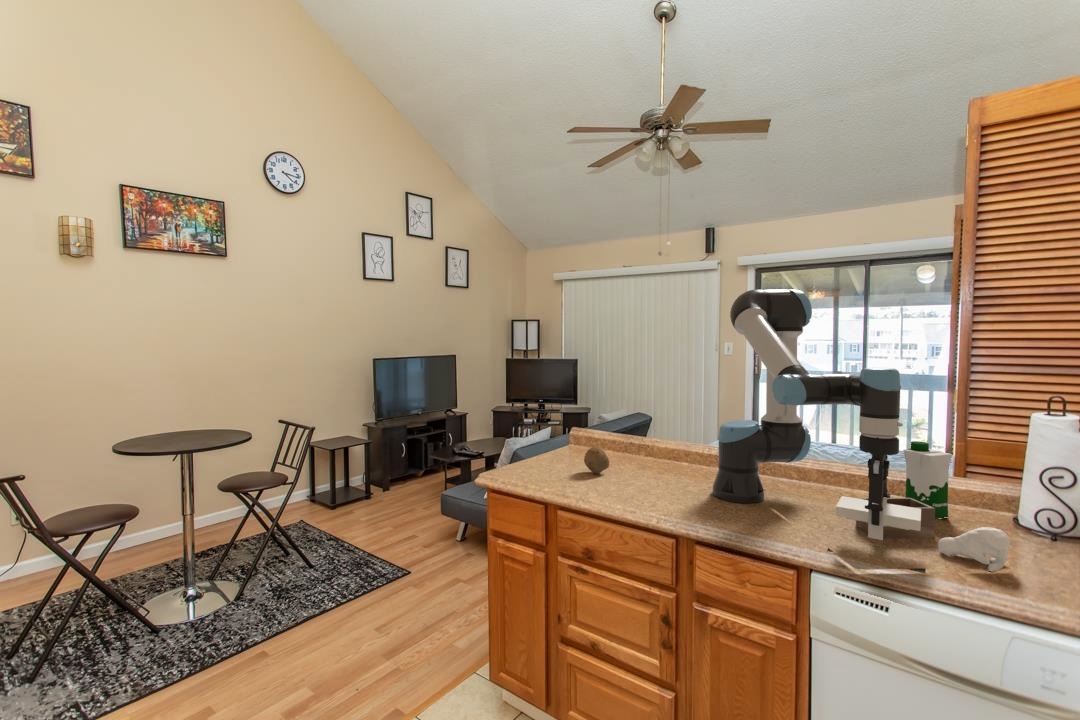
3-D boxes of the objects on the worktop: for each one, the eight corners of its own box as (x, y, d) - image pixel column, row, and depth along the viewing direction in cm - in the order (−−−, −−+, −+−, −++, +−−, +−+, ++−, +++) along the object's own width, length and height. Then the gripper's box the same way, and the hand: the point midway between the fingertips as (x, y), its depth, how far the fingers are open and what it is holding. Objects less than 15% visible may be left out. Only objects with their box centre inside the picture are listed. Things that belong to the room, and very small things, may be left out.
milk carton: (921, 508, 142) (923, 440, 142) (955, 519, 134) (957, 446, 133) (897, 511, 140) (899, 442, 139) (930, 523, 131) (932, 448, 130)
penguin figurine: (1008, 535, 101) (934, 525, 110) (1013, 576, 101) (938, 564, 109) (1008, 526, 106) (937, 518, 114) (1012, 566, 106) (941, 555, 114)
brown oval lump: (579, 471, 185) (579, 445, 184) (599, 468, 189) (599, 443, 188) (591, 477, 177) (591, 450, 176) (612, 474, 180) (612, 447, 180)
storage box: (855, 528, 128) (856, 498, 128) (910, 528, 128) (910, 497, 128) (876, 540, 120) (877, 508, 120) (934, 540, 120) (935, 508, 120)
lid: (841, 507, 122) (841, 496, 122) (921, 521, 113) (921, 508, 112) (835, 519, 115) (835, 506, 115) (920, 534, 105) (920, 520, 105)
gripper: (896, 445, 102) (894, 551, 103) (901, 429, 119) (900, 521, 120) (853, 441, 107) (852, 542, 107) (864, 426, 124) (863, 514, 125)
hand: (877, 531), depth 114 cm, fingers closed on lid, 10 cm apart
